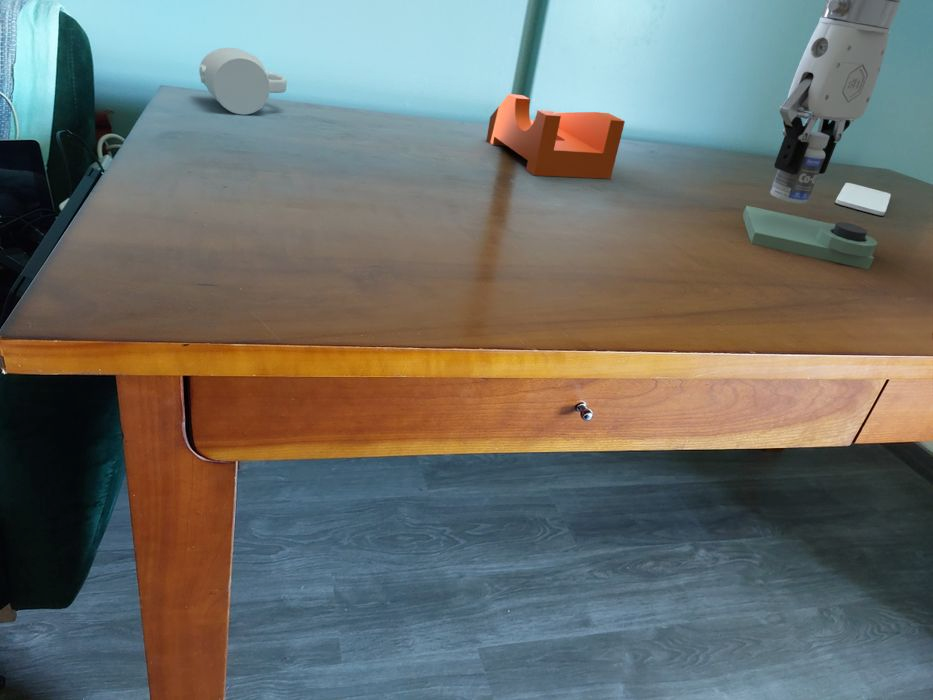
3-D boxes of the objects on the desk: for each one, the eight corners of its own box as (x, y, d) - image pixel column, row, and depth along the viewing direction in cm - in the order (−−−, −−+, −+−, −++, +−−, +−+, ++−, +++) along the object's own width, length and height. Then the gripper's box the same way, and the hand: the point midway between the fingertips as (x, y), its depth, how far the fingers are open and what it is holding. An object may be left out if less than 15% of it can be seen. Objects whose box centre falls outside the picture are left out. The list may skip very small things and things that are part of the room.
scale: (849, 239, 98) (858, 218, 97) (872, 273, 87) (883, 249, 86) (742, 216, 100) (749, 195, 99) (751, 246, 89) (759, 223, 88)
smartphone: (835, 199, 114) (845, 182, 126) (833, 203, 114) (844, 186, 126) (885, 212, 111) (891, 193, 123) (883, 217, 111) (889, 198, 123)
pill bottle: (794, 205, 91) (820, 138, 87) (762, 193, 94) (785, 127, 90) (814, 203, 94) (840, 137, 90) (782, 191, 97) (806, 127, 93)
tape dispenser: (610, 178, 107) (624, 121, 103) (533, 175, 102) (545, 114, 98) (556, 144, 121) (566, 92, 117) (486, 140, 117) (495, 86, 113)
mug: (208, 113, 105) (206, 54, 102) (200, 98, 113) (198, 42, 109) (291, 117, 110) (293, 62, 107) (278, 102, 118) (279, 50, 114)
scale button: (859, 236, 90) (863, 226, 90) (866, 245, 87) (870, 235, 87) (829, 230, 91) (833, 219, 90) (835, 239, 88) (839, 228, 87)
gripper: (843, 12, 76) (781, 182, 85) (928, 26, 85) (863, 179, 94) (784, 1, 82) (731, 162, 90) (870, 16, 90) (814, 161, 99)
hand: (799, 169), depth 92 cm, fingers closed on pill bottle, 4 cm apart
